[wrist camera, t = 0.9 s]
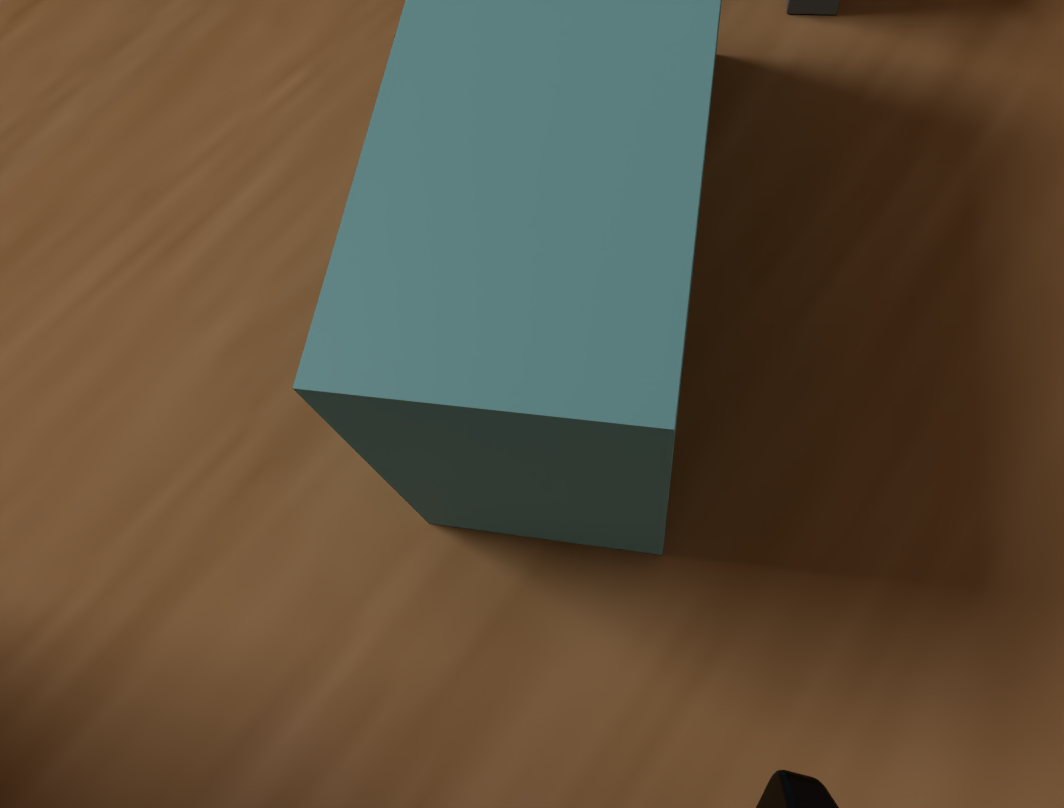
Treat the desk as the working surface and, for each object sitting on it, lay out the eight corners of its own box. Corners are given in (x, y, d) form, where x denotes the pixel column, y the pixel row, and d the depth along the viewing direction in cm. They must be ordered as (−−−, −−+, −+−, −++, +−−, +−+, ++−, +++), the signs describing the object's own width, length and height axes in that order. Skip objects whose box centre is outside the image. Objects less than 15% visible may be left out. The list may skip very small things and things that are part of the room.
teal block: (662, 556, 20) (674, 430, 12) (430, 524, 21) (292, 388, 13) (715, 57, 26) (748, -264, 18) (530, 52, 27) (479, -253, 19)
